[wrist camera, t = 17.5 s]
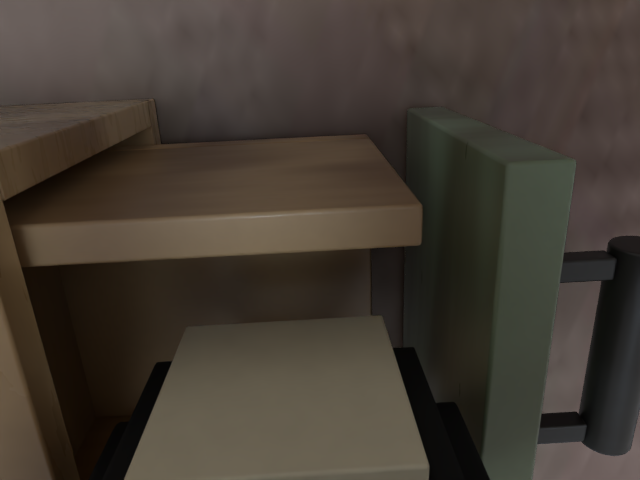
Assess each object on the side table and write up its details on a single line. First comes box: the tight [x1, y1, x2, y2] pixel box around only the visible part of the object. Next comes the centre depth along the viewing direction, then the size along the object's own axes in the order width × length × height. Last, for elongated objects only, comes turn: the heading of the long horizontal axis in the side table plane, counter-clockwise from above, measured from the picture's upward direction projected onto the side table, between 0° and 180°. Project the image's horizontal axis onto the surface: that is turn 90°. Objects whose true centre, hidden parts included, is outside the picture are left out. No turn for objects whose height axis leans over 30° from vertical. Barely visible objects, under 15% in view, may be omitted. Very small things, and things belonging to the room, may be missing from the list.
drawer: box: [3, 107, 640, 480], centre depth 14 cm, size 18×12×8 cm
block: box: [124, 315, 430, 480], centre depth 10 cm, size 4×4×4 cm
